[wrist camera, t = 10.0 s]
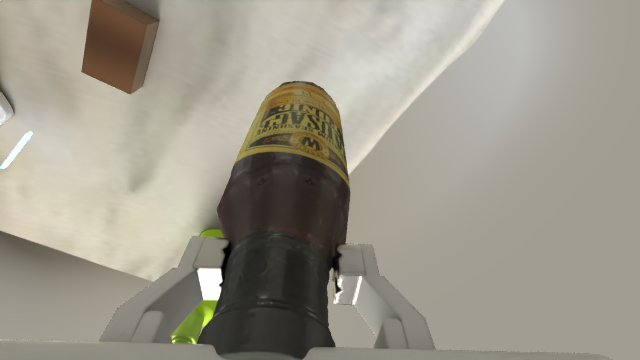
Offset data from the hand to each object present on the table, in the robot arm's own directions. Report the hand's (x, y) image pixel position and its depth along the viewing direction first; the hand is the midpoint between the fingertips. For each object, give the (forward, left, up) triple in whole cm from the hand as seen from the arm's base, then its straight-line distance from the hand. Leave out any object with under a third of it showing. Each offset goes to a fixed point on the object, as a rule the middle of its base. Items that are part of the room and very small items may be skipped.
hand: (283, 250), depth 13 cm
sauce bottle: (0, 0, -15) cm, 15 cm away
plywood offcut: (-13, +14, -28) cm, 34 cm away
